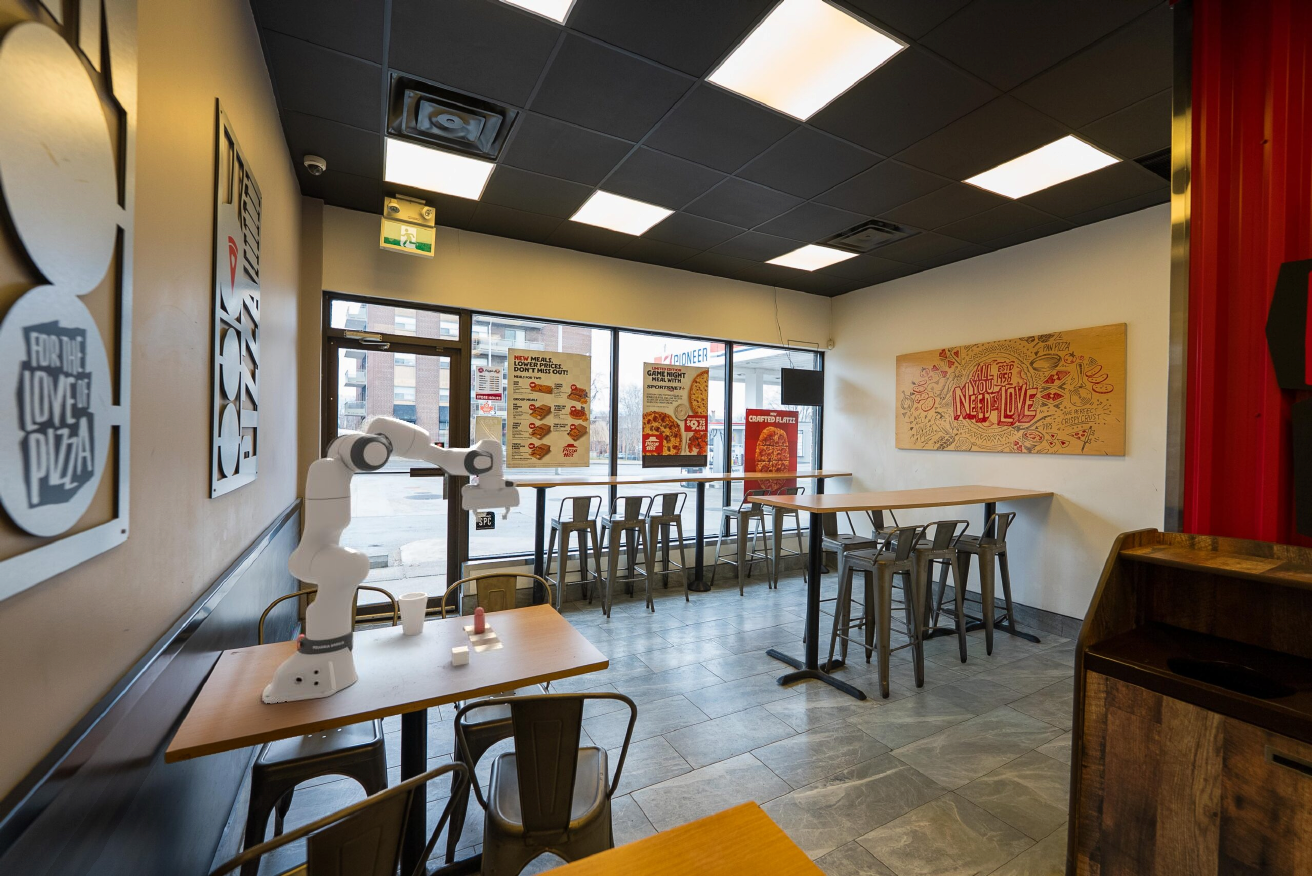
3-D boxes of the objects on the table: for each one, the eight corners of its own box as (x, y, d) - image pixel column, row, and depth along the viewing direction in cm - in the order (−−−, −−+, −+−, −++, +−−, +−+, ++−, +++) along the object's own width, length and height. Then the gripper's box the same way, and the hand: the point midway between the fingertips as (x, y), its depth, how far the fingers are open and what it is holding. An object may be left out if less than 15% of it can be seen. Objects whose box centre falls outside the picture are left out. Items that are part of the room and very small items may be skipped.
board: (476, 654, 176) (476, 652, 176) (463, 628, 201) (463, 626, 201) (504, 649, 181) (504, 647, 181) (488, 624, 205) (488, 622, 205)
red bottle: (475, 634, 193) (474, 609, 193) (473, 630, 196) (473, 606, 196) (485, 632, 195) (485, 608, 195) (484, 629, 198) (483, 605, 198)
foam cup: (418, 625, 204) (418, 590, 204) (432, 630, 198) (432, 594, 198) (393, 633, 196) (393, 596, 196) (407, 638, 190) (407, 601, 190)
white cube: (453, 668, 166) (453, 653, 166) (451, 662, 170) (451, 648, 170) (468, 665, 168) (468, 650, 168) (466, 659, 172) (466, 645, 172)
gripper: (462, 485, 194) (463, 524, 194) (520, 482, 203) (521, 519, 204) (460, 483, 200) (460, 521, 200) (516, 480, 209) (517, 517, 209)
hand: (491, 520), depth 202 cm, fingers open, 8 cm apart
